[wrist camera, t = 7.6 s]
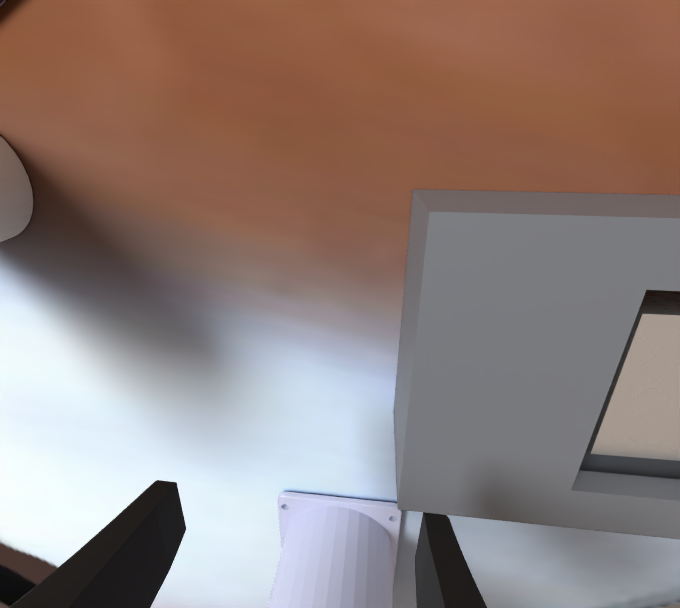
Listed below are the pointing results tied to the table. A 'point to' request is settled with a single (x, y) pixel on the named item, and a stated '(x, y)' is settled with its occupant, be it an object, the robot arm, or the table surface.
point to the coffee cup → (13, 194)
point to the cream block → (645, 387)
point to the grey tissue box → (528, 356)
